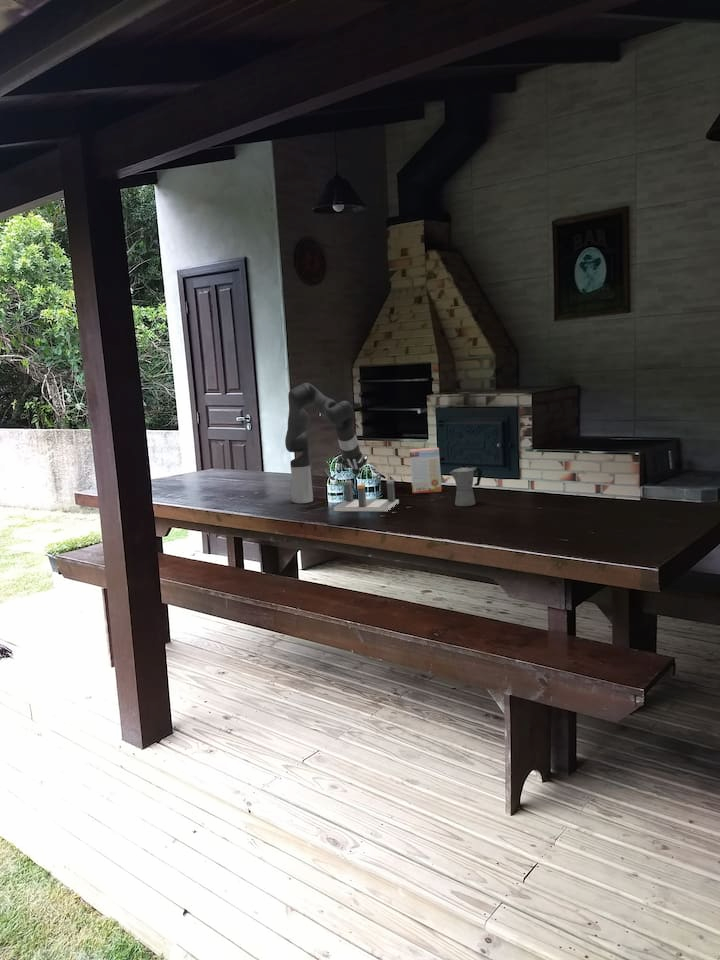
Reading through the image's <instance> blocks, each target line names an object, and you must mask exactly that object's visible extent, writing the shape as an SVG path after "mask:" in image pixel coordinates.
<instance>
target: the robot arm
mask: <svg viewBox="0 0 720 960" xmlns="http://www.w3.org/2000/svg"><path fill="white" fill-rule="evenodd" d="M287 395H288V396H287V397H288V398H287V399H288V416H287V417H288V418H287V431H286V434H285V440H284V444H285V445H284V446H285V448H286V451H288V453H298V452H299V453H301V454H300V455H299V456H297V457H296V458H293V459H292V460H290V462H289V463H290V472H291V473H290V474H291V482H290V495H291V503H292V502H294V504H306V503H311V502H313V501H314V496H313V482H312V473H311V472H312V471H311V462H310V442H309V441H310V440H309V434H308V433H307V432H306V431H307V429H308V427H309V422H310V415H309V413H308V412H307V410H306V409H304V408H307V407H308V406H310V405H312V404H313V405H314V408H315V410H316V411H317V413H319V414H320V415H323V416H325V417H326V419H327V420H328V422H329V423H330V424H331V425H333V426H335V433H336V436H337V441H338V445H339V448H340V449H339V450H340V452H341V455H339V456H338V458H337V462H339V463H340V464H341V465H342V466H344V467H345V468H347V469H351V471H352V474H354V476H359V474H360V472H361V468H363V467H364V465H365V464H366V463H367V462H368V457H369V456H368V455H363V453H362V452H361V449H360V445H359V440H358V437H357V435H356V432H355V430H354V414H355V412H354V408H353V405H352V404H351V403H350V402H349V401H347V400H342V401H340V402H337V401H336V400H334V399H332V398H330V397H329V396H326V395H324V394H323V393H322V392H321V391H320V390H319V389H318V388H316V386H314V385H312V384H311V383H309V382H303V383H301V384H300V385H297V386H295V387H294V388H292V389H291V390H289V392H288V394H287ZM360 460H361V461H360Z"/></svg>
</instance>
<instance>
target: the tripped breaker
mask: <svg viewBox="0 0 720 960" xmlns="http://www.w3.org/2000/svg"><path fill="white" fill-rule="evenodd" d="M356 488H357V500H358V501H359V506H365V505H366V500H367V497H366V484H362V483H361V484H360V483H359V484H358V485H357V486H356Z"/></svg>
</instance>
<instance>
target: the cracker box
mask: <svg viewBox="0 0 720 960" xmlns="http://www.w3.org/2000/svg"><path fill="white" fill-rule="evenodd" d="M440 458H441V457H440V448H439V447H426V448H425V447H424V448H415V449H414V448H413V449H412V448H411V449H409V460H410V463H409V464H410V476H411V489H412V494H413V493H414V494H425V493H426V494H427V493H440V492H441V493H442V492H443V491H442V490H443V489H442V478H441V477H442V476H441V475H442V473H441V461H440Z"/></svg>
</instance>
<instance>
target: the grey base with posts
mask: <svg viewBox="0 0 720 960" xmlns="http://www.w3.org/2000/svg"><path fill="white" fill-rule="evenodd" d="M343 484H344V490H345V491H344V493H345V501H343V502H341V503H339V504H338V505H336V506H333V512H389V511H390V510H392V509H393V508H395V507H396V506H397V505H398V504H400V499H396V496H395V495H396V493H395V492H396V491H395V480H394V479H388V480H386V491H387V499H380V498H379V499H373V498H372V499H366V505H365V506H359V501H358V499H354V492H353V480H346V481H344V483H343ZM396 504H397V505H396ZM395 505H396V506H395ZM392 507H393V508H392ZM391 508H392V509H391ZM388 510H389V511H388Z"/></svg>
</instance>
